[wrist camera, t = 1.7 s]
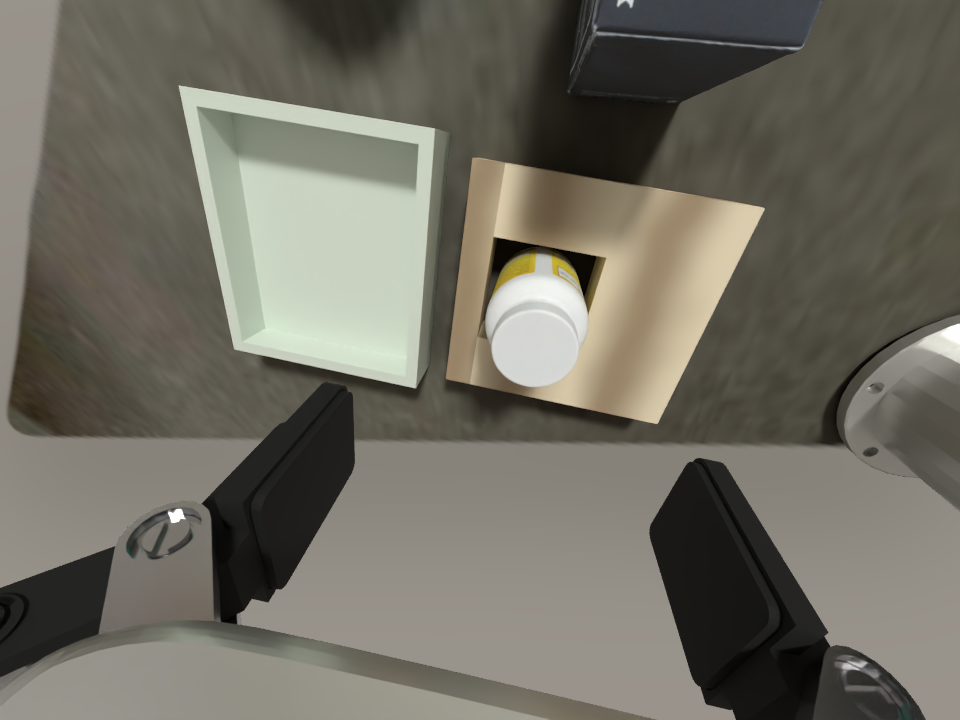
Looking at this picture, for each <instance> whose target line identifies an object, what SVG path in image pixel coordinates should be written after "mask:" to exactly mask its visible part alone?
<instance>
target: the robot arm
mask: <svg viewBox="0 0 960 720" xmlns="http://www.w3.org/2000/svg"><path fill="white" fill-rule="evenodd" d="M836 425H837V428H838V432H839V435H840V438H841V439H842V441H843V442H844V443H845V445H846V446H847V448H848V449H849V450H850V451H851V452H853V453H854V454H855V455H856V456H857V457H858V458H859V459H860V460H862V461H863V462H865V463H866V464H868V465H869V466H871V467H873V468H875V469H878V470H880V471H883V472H885V473H889V474H894V475H898V476H903V477H914V478H920V479H922V480H923V481H924V482H925V483H926V484H928V485H929V486H930V487H931V488H932V489H934V490H935V491H936V492H937V493H938V494H940V495H941V496H942V497H943V498H944V499H945V500H946V501H948V502H949V503H950V504H951V505H952V506H954V507H955V508H956V509H957V510H958V511H960V315H957V316H953V317H949V318H946V319H943V320H941V321H938V322H935V323H933V324H930V325H927V326H925V327H922V328H920V329H918V330H916V331H915V332H913V333H911V334H909V335H907V336H905V337H903V338H901V339H899V340H898V341H896V342H895V343H893V344H892V345H890V346H889V347H887V348H886V349H884V350H883V351H881V352H880V353H878V354H877V355H876V356H875V357H874V358H873V359H871V360H870V361H869V362H868V363H867V364H866V365H865V366H863V367H862V368H861V370H860V371H859V372H858V373H857V374H856V376H855V377H854V378H853V379H852V380H851V381H850V383H849V385H848V386H847V388H846V390H845V391H844V393H843V395H842V397H841V400H840V403H839V406H838V409H837V423H836ZM354 464H355V453H354V419H353V395H352V393H351V392H348V391H347V388H346V386H343V385H338V384H333V383H328V382H324V383H323V384H321V385H320V387H319V388H318V389H317V390H316V391H315V392H314V393H313V394H312V395H311V396H310V397H309V398H308V399H307V400H306V401H305V402H304V403H303V404H302V405H301V406H300V408H299V409H298V410H297V411H296V412H295V413H294V414H293V415H292V416H291V417H290V418H289V419H288V420H287V421H286V422H284V423H281V424H279V425H278V426H277V427H276V428H275V429H274V430H273V431H272V432H271V433H270V434H269V435H268V436H267V437H266V438H265V439H264V440H263V441H262V442H261V443H260V444H259V445H258V446H257V447H256V448H255V449H254V450H253V451H252V452H251V454H249V456H247V457H246V459H245V460H243V462H242V463H241V464H240V465H239V466H238V467H237V468H236V469H235V470H234V471H233V472H232V473H231V474H230V475H229V476H228V477H227V478H226V479H225V480H224V481H223V482H222V483H221V484H220V485H219V486H218V487H217V488H216V489H215V490H214V492H212V493H211V495H210V496H209V497H208V498H207V499H206V500H205V501H204V502H203V503H202V504H200V503H197V502H194V501H180V502H175V503H170V504H166V505H163V506H161V507H158V508H155V509H153V510H151V511H150V512H148V513H146V514H144V515H142V516H141V517H139V518H138V519H137V520H136V521H134V522H133V523H132V524H131V525H130V526H128V527H127V529H126V530H125V531H124V532H123V534H122V535H121V536H120V537H119V539H118V542H117V544H116V546H114V547H112V548H109V549H106V550H103V551H101V552H98V553H95V554H92V555H90V556H87V557H84V558H81V559H79V560H76V561H73V562H70V563H68V564H65V565H62V566H59V567H57V568H54V569H52V570H48V571H46V572H43V573H40V574H37V575H35V576H32V577H29V578H26V579H24V580H21V581H18V582H15V583H13V584H10V585H7V586H5V587H2V588H0V720H655V719H651V718H647V717H643V716H638V715H634V714H630V713H626V712H622V711H618V710H613V709H609V708H605V707H601V706H597V705H593V704H589V703H585V702H580V701H576V700H572V699H568V698H563V697H559V696H555V695H551V694H547V693H542V692H538V691H534V690H530V689H525V688H521V687H517V686H513V685H508V684H504V683H500V682H496V681H492V680H487V679H483V678H479V677H475V676H470V675H466V674H462V673H457V672H453V671H448V670H445V669H440V668H436V667H432V666H427V665H423V664H418V663H414V662H410V661H405V660H401V659H397V658H392V657H388V656H384V655H379V654H375V653H371V652H366V651H362V650H358V649H354V648H349V647H345V646H341V645H336V644H332V643H328V642H323V641H318V640H313V639H308V638H304V637H298V636H294V635H289V634H285V633H280V632H275V631H270V630H265V629H261V628H256V627H249V626H243V625H241V617H240V616H241V615H240V612H242V611H244V610H245V608H246V607H247V605H248V604H249V602H250V601H251V599H256V600H260V601H264V602H269V600H270V599H271V597H272V595H273V594H274V592H275V590H276V589H282V588H284V586H285V585H286V584H287V582H288V581H289V579H290V577H291V576H292V574H293V572H294V571H295V569H296V567H297V565H298V564H299V562H300V560H301V559H302V557H303V555H304V554H305V552H306V550H307V548H308V547H309V545H310V543H311V541H312V540H313V538H314V536H315V535H316V533H317V531H318V530H319V528H320V526H321V524H322V523H323V521H324V519H325V518H326V516H327V514H328V513H329V511H330V509H331V508H332V506H333V504H334V502H335V501H336V499H337V497H338V496H339V494H340V492H341V490H342V489H343V487H344V485H345V484H346V482H347V480H348V479H349V477H350V475H351V473H352V471H353V468H354ZM649 533H650V539H651V543H652V546H653V549H654V553H655V556H656V559H657V562H658V566H659V569H660V573H661V576H662V579H663V582H664V586H665V589H666V592H667V596H668V599H669V603H670V605H671V609H672V612H673V615H674V619H675V622H676V625H677V629H678V632H679V636H680V639H681V642H682V646H683V649H684V652H685V656H686V659H687V662H688V666H689V669H690V672H691V675H692V678H693V680H694V682H695V683H696V684H697V685H698V686H700V687H701V690H702V693H703V696H704V700H705V703H706V704H707V705H711V706H716V707H720V708H724V709H728V710H731V709H732V710H733V712H734V715H735V718H736V720H926V719H925V717H924V715H923V713H922V712H921V710H920V708H919V706H918V705H917V703H916V702H915V701H914V699H913V698H912V697H911V695H910V694H909V693H908V692H907V690H906V689H905V688H904V687H903V686H902V685H901V684H900V683H899V682H898V681H897V680H896V679H895V678H894V677H893V676H892V675H891V674H890V673H889V672H888V671H886V670H885V669H884V668H883V667H882V666H881V665H879V664H878V663H877V662H876V661H874V660H872V659H871V658H869V657H867V656H866V655H864V654H862V653H861V652H859V651H857V650H854V649H852V648H849V647H847V646H839V645H835V646H832V647H830V645H829V643H828V642H827V640H826V639H825V637H824V636H825V635H826V634H827V633H828V631H827V629H826V628H825V626H824V625H823V623H822V622H821V620H820V618H819V617H818V615H817V613H816V612H815V610H814V608H813V607H812V605H811V604H810V602H809V600H808V599H807V597H806V595H805V594H804V592H803V591H802V589H801V587H800V586H799V584H798V582H797V581H796V579H795V578H794V576H793V574H792V573H791V571H790V569H789V568H788V566H787V565H786V563H785V562H784V560H783V558H782V557H781V555H780V553H779V552H778V550H777V548H776V547H775V546H774V544H773V542H772V541H771V539H770V537H769V536H768V534H767V532H766V531H765V529H764V527H763V526H762V524H761V523H760V521H759V519H758V518H757V516H756V514H755V513H754V511H753V510H752V508H751V507H750V505H749V503H748V501H747V500H746V498H745V497H744V495H743V493H742V492H741V490H740V489H739V487H738V485H737V484H736V482H735V481H734V479H733V477H732V476H731V474H730V472H729V471H728V469H727V468H726V466H725V465H724V464H723V463H721V462H716V461H712V460H707V459H702V458H697V459H695V460H694V461H693V462H689V463H688V464H687V465H686V466H685V468H684V469H683V471H682V473H681V475H680V476H679V478H678V480H677V481H676V483H675V485H674V486H673V488H672V490H671V491H670V493H669V495H668V496H667V498H666V500H665V502H664V503H663V505H662V507H661V508H660V510H659V512H658V513H657V515H656V517H655V518H654V520H653V522H652V523H651V526H650V532H649Z"/></svg>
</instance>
